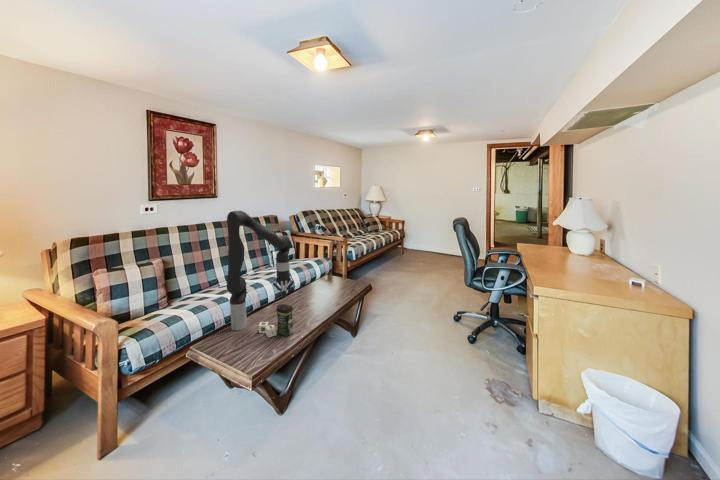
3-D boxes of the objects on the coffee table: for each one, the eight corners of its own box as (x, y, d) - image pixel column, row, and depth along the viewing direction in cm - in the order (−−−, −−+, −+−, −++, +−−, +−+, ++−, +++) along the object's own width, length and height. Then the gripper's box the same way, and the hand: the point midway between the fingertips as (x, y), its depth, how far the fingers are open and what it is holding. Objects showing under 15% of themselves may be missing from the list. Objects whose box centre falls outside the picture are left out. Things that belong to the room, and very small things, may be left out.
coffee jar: (275, 334, 180) (273, 305, 176) (283, 328, 186) (282, 301, 183) (287, 337, 175) (286, 308, 172) (295, 332, 182) (294, 304, 179)
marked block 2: (268, 338, 174) (268, 330, 173) (265, 334, 179) (265, 326, 179) (277, 336, 177) (276, 328, 176) (273, 332, 182) (273, 324, 181)
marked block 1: (259, 333, 180) (258, 325, 179) (260, 329, 185) (260, 321, 184) (267, 332, 181) (266, 325, 180) (268, 329, 186) (268, 321, 185)
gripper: (272, 271, 168) (273, 300, 171) (295, 269, 173) (296, 297, 176) (270, 268, 174) (271, 296, 177) (292, 266, 180) (293, 293, 183)
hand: (284, 296), depth 177 cm, fingers closed
